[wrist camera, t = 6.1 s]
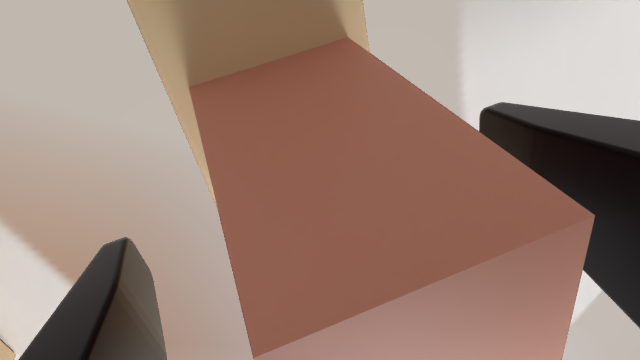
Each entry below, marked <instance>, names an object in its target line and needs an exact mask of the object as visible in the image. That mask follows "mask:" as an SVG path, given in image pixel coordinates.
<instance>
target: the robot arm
mask: <svg viewBox="0 0 640 360" xmlns="http://www.w3.org/2000/svg"><path fill="white" fill-rule="evenodd" d="M479 132H480V133H482V134H483V135H484V136H486V137H487V138H489V139H490V140H491V141H493V142H494V143H495V144H497V145H498V146H500V147H501V148H502V149H504V150H505V151H507V152H508V153H509V154H511V155H512V156H513V157H515V158H516V159H518V160H519V161H520V162H522V163H523V164H525V165H526V166H527V167H529V168H530V169H531V170H533V171H534V172H536V173H537V174H538V175H540V176H541V177H543V178H544V179H545V180H547V181H548V182H549V183H551V184H552V185H554V186H555V187H556V188H558V189H559V190H561V191H562V192H563V193H565V194H566V195H567V196H569V197H570V198H572V199H573V200H574V201H576V202H577V203H579V204H580V205H581V206H583V207H584V208H585V209H587V210H588V211H590V212H591V213H592V214H594V215H595V218H594V223H593V227H592V231H591V236H590V240H589V244H588V249H587V253H586V257H585V262H584V266H583V270H584V271H585V272H586V273H587V274H588V275H589V276H590V277H591V279H592V280H593V281H594V282H595V283H596V284H597V285H598V286H599V287H600V288H601V289H602V290H603V291H604V292H605V293H606V294H607V295H608V296H609V297H610V298H611V299H612V300H613V301H614V302H615V303H616V304H617V305H618V306H619V307H620V308H621V309H622V310H623V312H624V313H626V315H627V316H628V317H630V319H631V320H632V321H633V322H634V323H635V324H636V325H637V326H638V327H639V328H640V121H637V120H630V119H622V118H615V117H608V116H600V115H593V114H585V113H578V112H571V111H563V110H556V109H548V108H541V107H534V106H526V105H519V104H512V103H504V102H501V103H497V104H494V105H492V106H489V107H486V108H484V109H483V110H482V111H481V113H480V123H479ZM19 360H167V355H166V349H165V342H164V336H163V331H162V325H161V320H160V315H159V309H158V303H157V298H156V293H155V287H154V281H153V277H152V274H151V272H150V269H149V267H148V266H147V264H146V263H145V261H144V259H143V258H142V256H141V254H140V253H139V251H138V250H137V248H136V246H135V245H134V243H133V242H132V241H131V240H130V239H129V238H126V237H124V238H121V239H119V240H116V241H113V242H110V243H107V244H105V245H104V246H103V247H102V248H101V249H100V250H99V252H98V253H97V254H96V256H95V257H94V258H93V260H92V261H91V262H90V264H89V265H88V267H87V268H86V269H85V271H84V272H83V273H82V275H81V276H80V277H79V279H78V280H77V281H76V283H75V284H74V285H73V287H72V288H71V290H70V291H69V292H68V294H67V295H66V296H65V298H64V299H63V300H62V302H61V303H60V304H59V306H58V307H57V308H56V310H55V311H54V313H53V314H52V315H51V317H50V318H49V319H48V321H47V322H46V323H45V325H44V326H43V327H42V329H41V330H40V331H39V333H38V334H37V336H36V337H35V338H34V340H33V341H32V342H31V344H30V345H29V346H28V348H27V349H26V350H25V352H24V353H23V354H22V356H21V357H20V359H19Z"/></svg>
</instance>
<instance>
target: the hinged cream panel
mask: <svg viewBox="0 0 640 360" xmlns="http://www.w3.org/2000/svg"><path fill="white" fill-rule="evenodd" d="M15 355H16V354H14V353H13V352H12V351H11V350H10V349H9V348H8V347H7V346H6V345H5V344H4V343H3V342H2V341H1V340H0V360H14V358H15Z"/></svg>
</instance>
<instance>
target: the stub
mask: <svg viewBox="0 0 640 360" xmlns="http://www.w3.org/2000/svg"><path fill="white" fill-rule="evenodd" d="M127 2H128V4H129V7H130V9H131V11H132V14H133V16H134V18H135V20H136V23H137V25H138V27H139V29H140V32H141V34H142V37H143V39H144V41H145V43H146V46H147V48H148V50H149V53H150V55H151V57H152V60H153V62H154V64H155V67H156V69H157V71H158V73H159V76H160V78H161V80H162V83H163V85H164V87H165V90H166V92H167V94H168V96H169V99H170V101H171V103H172V105H173V108H174V110H175V112H176V115H177V117H178V119H179V121H180V124H181V126H182V129H183V131H184V133H185V135H186V138H187V140H188V142H189V145H190V147H191V149H192V151H193V154H194V156H195V159H196V161H197V163H198V165H199V168H200V170H201V172H202V175H203V177H204V179H205V182H206V184H207V186H208V189H209V191H210V193H211V195H212V198H213V200H214V202H215V204H216V207H217V209H218V212H219V216H220V221H221V225H222V229H223V233H224V237H225V241H226V245H227V250H228V254H229V258H230V262H231V266H232V271H233V275H234V279H235V283H236V287H237V292H238V296H239V300H240V304H241V309H242V313H243V317H244V321H245V325H246V330H247V334H248V338H249V342H250V346H251V350H252V355H253V359H254V360H562V357H563V352H564V348H565V344H566V339H567V335H568V331H569V327H570V322H571V318H572V314H573V309H574V305H575V301H576V296H577V292H578V288H579V283H580V279H581V275H582V270H583V266H584V262H585V257H586V253H587V249H588V244H589V240H590V236H591V231H592V227H593V223H594V218H595V215H594V214H592V213H591V212H590V211H588V210H587V209H585V208H584V207H583V206H581V205H580V204H579V203H577V202H576V201H574V200H573V199H572V198H570V197H569V196H567V195H566V194H565V193H563V192H562V191H561V190H559V189H558V188H556V187H555V186H554V185H552V184H551V183H549V182H548V181H547V180H545V179H544V178H543V177H541V176H540V175H538V174H537V173H536V172H534V171H533V170H531V169H530V168H529V167H527V166H526V165H525V164H523V163H522V162H520V161H519V160H518V159H516V158H515V157H513V156H512V155H511V154H509V153H508V152H507V151H505V150H504V149H502V148H501V147H500V146H498V145H497V144H495V143H494V142H493V141H491V140H490V139H489V138H487V137H486V136H484V135H483V134H482V133H480V132H479V131H477V130H476V129H475V128H473V127H472V126H470V125H469V124H468V123H466V122H465V121H464V120H462V119H461V118H459V117H458V116H457V115H455V114H454V113H452V112H451V111H449V110H448V109H447V108H446V107H444V106H443V105H441V104H440V103H439V102H437V101H436V100H434V99H433V98H432V97H430V96H429V95H428V94H426V93H425V92H423V91H422V90H421V89H419V88H418V87H416V86H415V85H414V84H412V83H411V82H410V81H408V80H407V79H405V78H404V77H403V76H401V75H400V74H398V73H397V72H396V71H394V70H393V69H392V68H390V67H389V66H387V65H386V64H385V63H383V62H382V61H380V60H379V59H378V58H376V57H375V56H374V55H372V54H371V53H370V52H369V44H368V37H367V30H366V22H365V14H364V7H363V0H127Z"/></svg>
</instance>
